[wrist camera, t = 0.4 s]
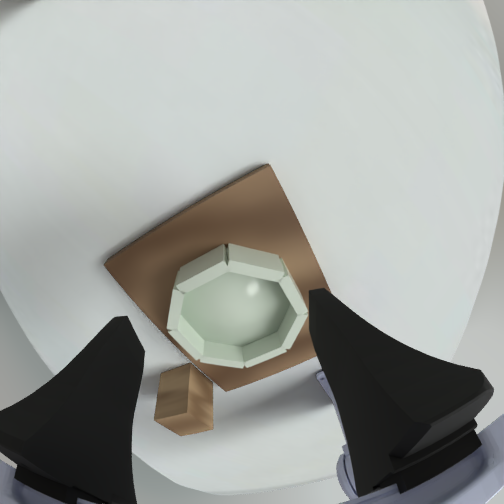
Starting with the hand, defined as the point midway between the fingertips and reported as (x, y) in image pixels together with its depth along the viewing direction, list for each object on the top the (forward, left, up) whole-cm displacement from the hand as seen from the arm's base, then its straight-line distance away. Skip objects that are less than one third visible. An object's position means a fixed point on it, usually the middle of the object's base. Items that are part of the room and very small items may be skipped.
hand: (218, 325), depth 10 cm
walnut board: (-7, +2, -10) cm, 12 cm away
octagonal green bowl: (-6, +2, -9) cm, 11 cm away
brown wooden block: (-13, +12, -10) cm, 20 cm away
